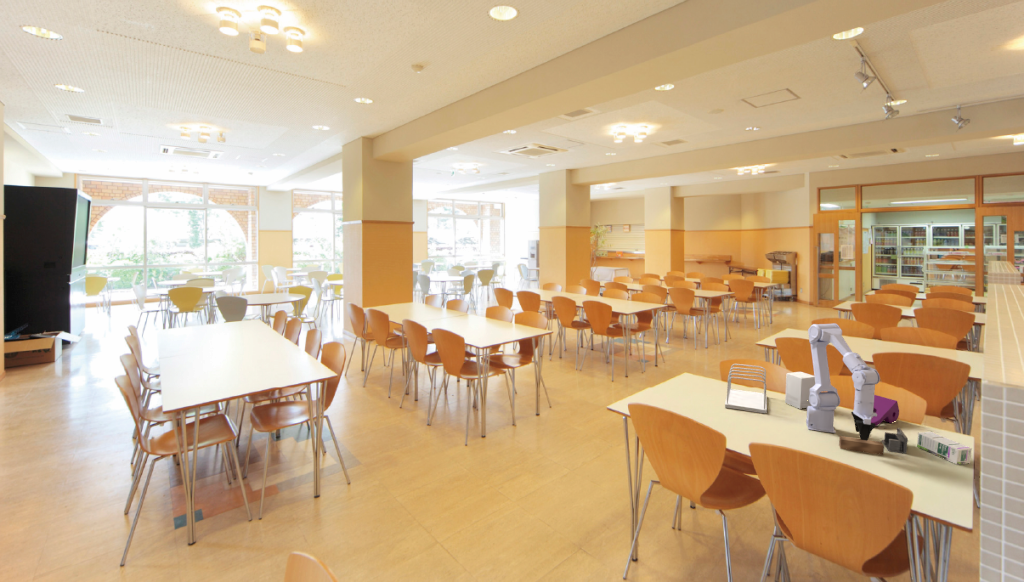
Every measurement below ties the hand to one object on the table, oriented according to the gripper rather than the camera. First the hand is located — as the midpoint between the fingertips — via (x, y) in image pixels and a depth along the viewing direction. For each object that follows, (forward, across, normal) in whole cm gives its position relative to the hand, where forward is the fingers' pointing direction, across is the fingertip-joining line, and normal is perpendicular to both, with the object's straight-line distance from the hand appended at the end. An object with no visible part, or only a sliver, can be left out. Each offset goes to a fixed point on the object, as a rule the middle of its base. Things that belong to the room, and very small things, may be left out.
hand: (861, 435), depth 175 cm
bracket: (+6, +8, -11) cm, 15 cm away
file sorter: (+6, +38, +39) cm, 54 cm away
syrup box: (+3, +14, -22) cm, 26 cm away
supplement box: (+6, +43, +16) cm, 46 cm away
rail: (+6, 0, 0) cm, 6 cm away
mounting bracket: (+6, +34, -10) cm, 36 cm away
